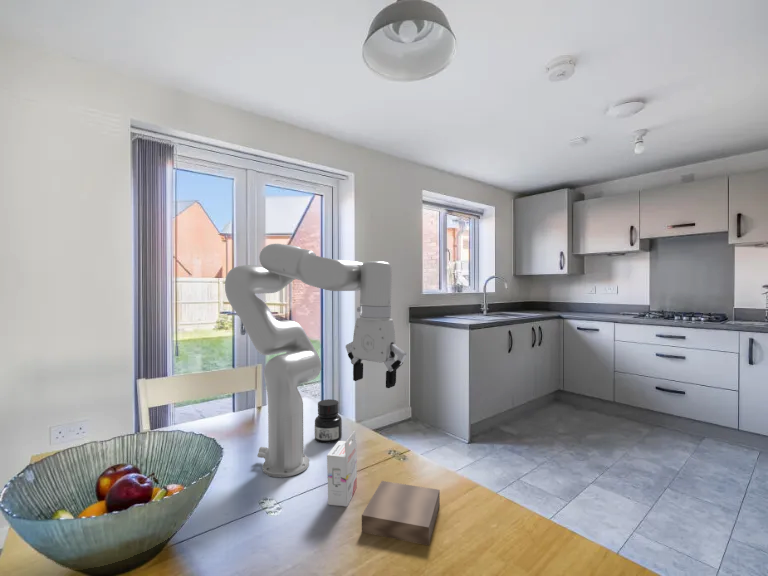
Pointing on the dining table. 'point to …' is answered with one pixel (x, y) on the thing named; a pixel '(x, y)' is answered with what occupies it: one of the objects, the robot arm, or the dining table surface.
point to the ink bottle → (328, 422)
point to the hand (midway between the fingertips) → (373, 383)
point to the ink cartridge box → (342, 472)
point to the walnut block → (402, 512)
